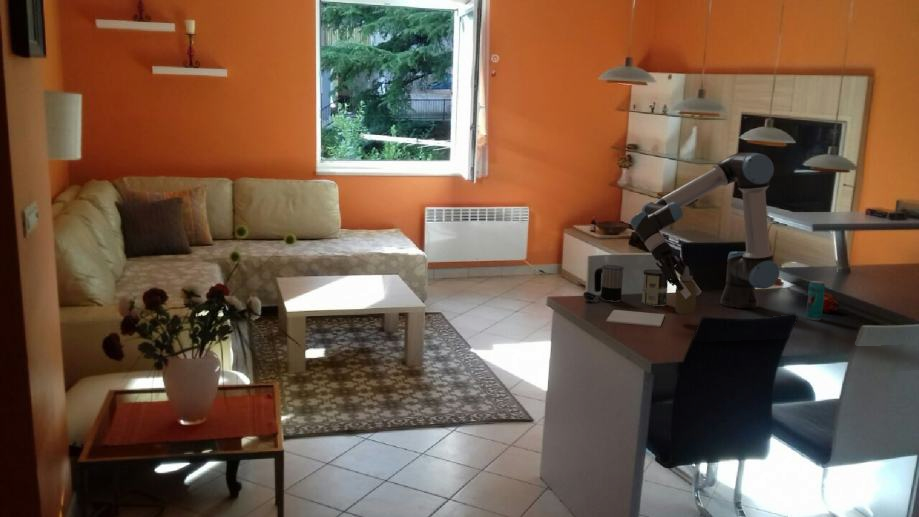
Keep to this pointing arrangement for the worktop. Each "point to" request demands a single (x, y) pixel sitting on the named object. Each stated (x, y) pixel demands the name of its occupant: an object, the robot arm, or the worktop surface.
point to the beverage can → (815, 300)
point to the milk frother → (607, 283)
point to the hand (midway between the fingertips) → (693, 295)
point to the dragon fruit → (829, 303)
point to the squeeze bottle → (679, 301)
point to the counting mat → (636, 318)
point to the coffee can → (654, 288)
